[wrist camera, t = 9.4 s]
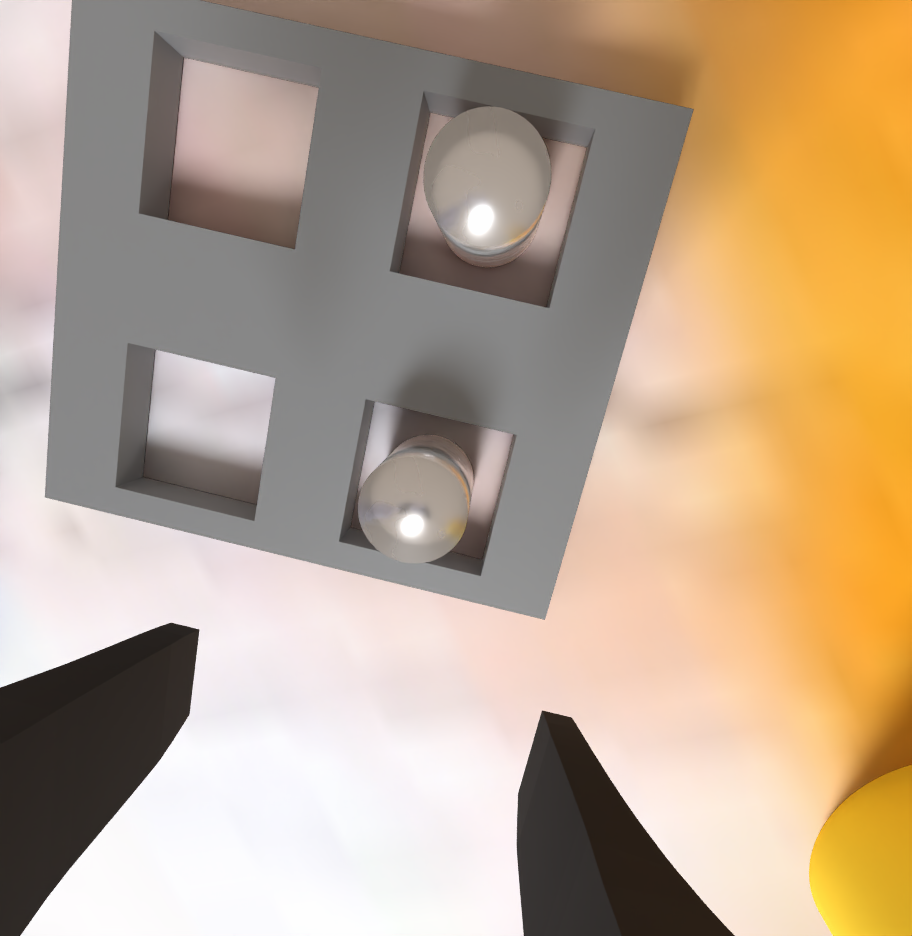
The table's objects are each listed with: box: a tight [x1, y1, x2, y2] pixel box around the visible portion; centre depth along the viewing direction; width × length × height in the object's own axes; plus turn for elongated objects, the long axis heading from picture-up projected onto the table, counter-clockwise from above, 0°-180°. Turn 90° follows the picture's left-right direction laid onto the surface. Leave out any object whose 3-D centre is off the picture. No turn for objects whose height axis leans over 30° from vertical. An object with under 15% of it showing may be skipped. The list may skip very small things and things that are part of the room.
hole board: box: [45, 0, 693, 620], centre depth 18 cm, size 18×16×2 cm
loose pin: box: [358, 435, 474, 564], centre depth 18 cm, size 3×3×4 cm
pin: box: [423, 107, 551, 268], centre depth 16 cm, size 3×3×4 cm
